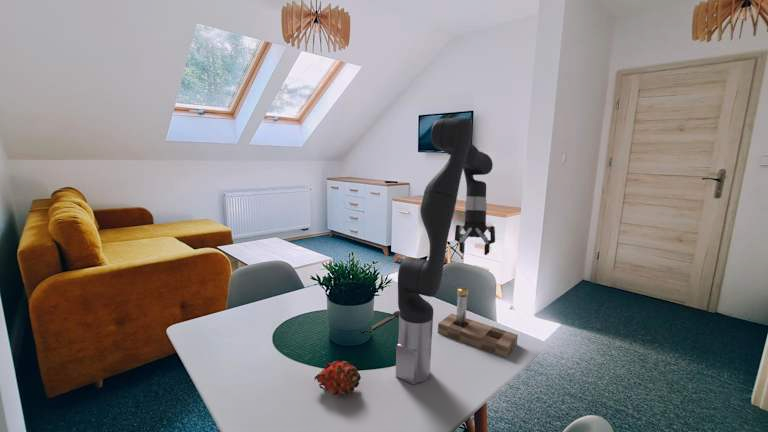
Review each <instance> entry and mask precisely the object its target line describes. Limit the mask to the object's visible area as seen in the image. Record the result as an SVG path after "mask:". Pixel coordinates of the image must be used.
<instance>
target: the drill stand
mask: <svg viewBox="0 0 768 432" xmlns="http://www.w3.org/2000/svg"><path fill="white" fill-rule="evenodd" d="M437 333H438V334H441V335H444V336H446V337H449V338H452V339H454V340H457V341H460V342H463V343H466V344H468V345H471V346H473V347H476V348H479V349H482V350H485V351H487V352H490V353H492V354H495V355H499V356H501V357H504V358H506V359H508V357H509V356H510V354H511V353H512V352H513V350H514V349H515V348H516V346H517V345H518V337H519V336H518V334H517V333H513V332H511V331H507V330H504V329H501V328H498V327H495V326H492V325H489V324H486V323H483V322H479V321H475V320H473V319H470V318H467V317H466V321H465V327H464V328H463V327H460V326H457V325H456V314H454V313H450V314H449V315H447V316H445V318H443V319H442V320H441V321H439V322H438V324H437Z"/></svg>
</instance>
